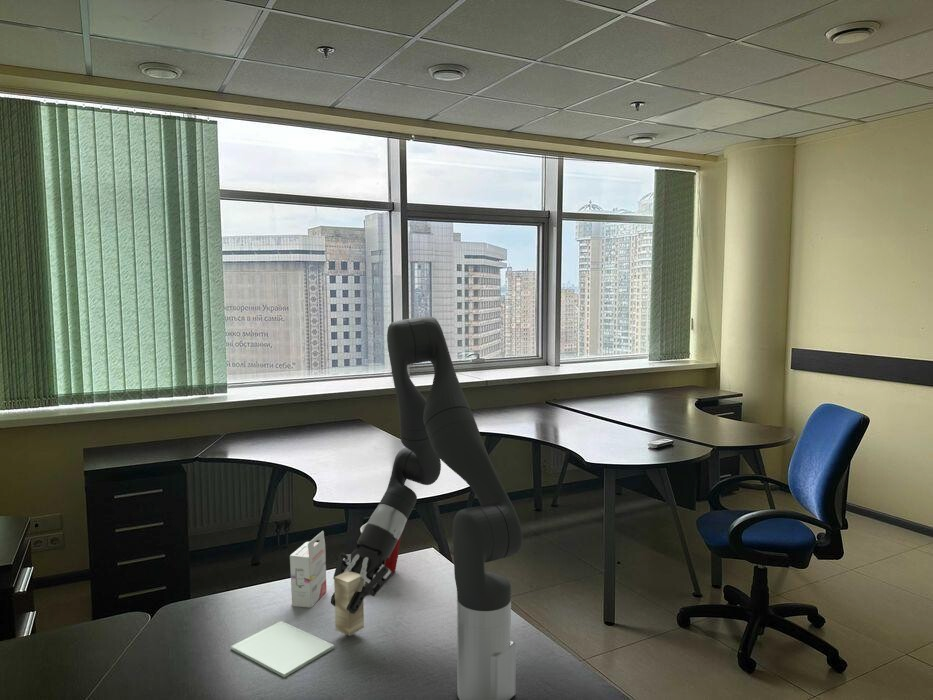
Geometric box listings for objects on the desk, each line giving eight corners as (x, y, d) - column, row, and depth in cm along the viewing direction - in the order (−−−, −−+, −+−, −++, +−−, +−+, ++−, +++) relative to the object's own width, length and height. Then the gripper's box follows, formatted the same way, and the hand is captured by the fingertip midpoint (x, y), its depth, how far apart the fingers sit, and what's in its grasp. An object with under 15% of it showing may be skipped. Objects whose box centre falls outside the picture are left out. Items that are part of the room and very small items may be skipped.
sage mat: (334, 648, 127) (334, 645, 127) (284, 677, 117) (284, 674, 117) (281, 623, 136) (281, 620, 136) (231, 649, 127) (231, 646, 126)
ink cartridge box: (307, 589, 152) (305, 528, 151) (327, 591, 151) (325, 529, 150) (290, 606, 144) (288, 542, 142) (311, 608, 143) (309, 543, 141)
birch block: (363, 627, 132) (362, 575, 131) (349, 635, 129) (348, 582, 128) (350, 621, 134) (348, 570, 133) (335, 629, 131) (334, 577, 130)
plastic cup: (355, 567, 164) (354, 521, 163) (396, 560, 169) (395, 515, 167) (367, 585, 154) (366, 536, 153) (410, 576, 159) (410, 529, 158)
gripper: (349, 516, 140) (307, 591, 131) (399, 529, 132) (357, 611, 123) (367, 532, 145) (327, 606, 136) (416, 546, 136) (377, 626, 128)
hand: (342, 608), depth 129 cm, fingers closed on birch block, 4 cm apart
